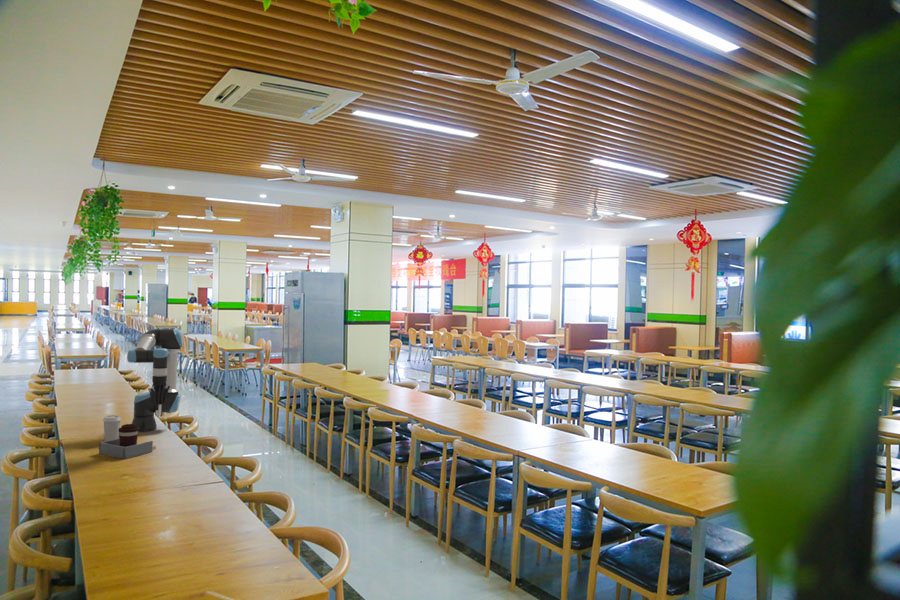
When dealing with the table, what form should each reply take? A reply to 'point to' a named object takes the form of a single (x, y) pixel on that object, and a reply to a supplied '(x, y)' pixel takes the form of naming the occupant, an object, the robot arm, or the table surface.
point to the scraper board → (152, 447)
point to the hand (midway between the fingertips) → (158, 415)
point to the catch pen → (124, 449)
